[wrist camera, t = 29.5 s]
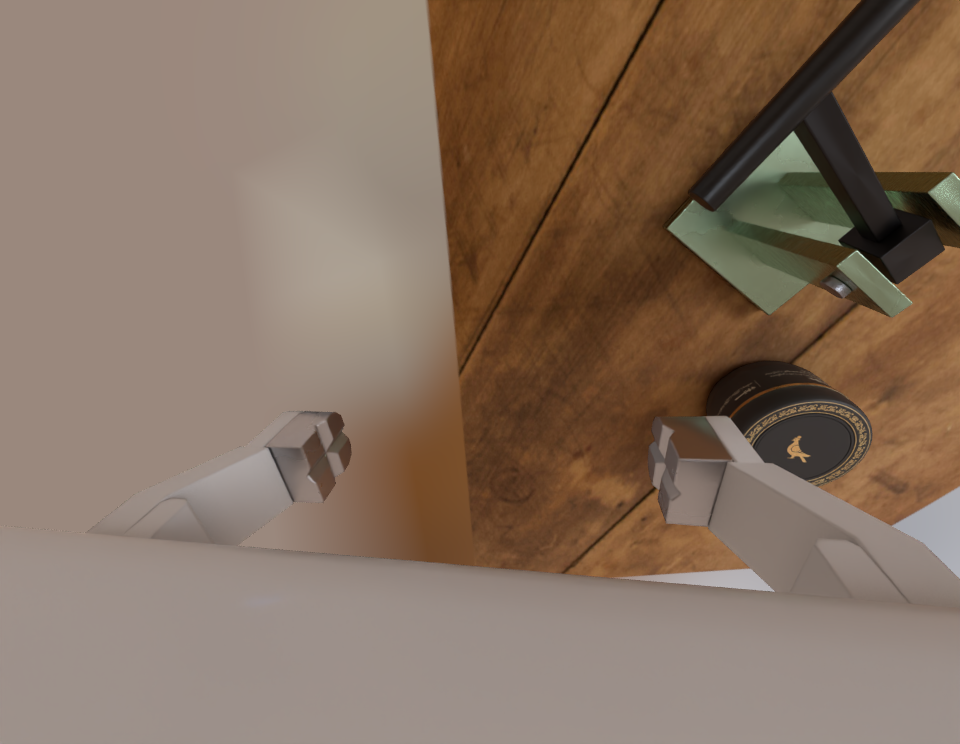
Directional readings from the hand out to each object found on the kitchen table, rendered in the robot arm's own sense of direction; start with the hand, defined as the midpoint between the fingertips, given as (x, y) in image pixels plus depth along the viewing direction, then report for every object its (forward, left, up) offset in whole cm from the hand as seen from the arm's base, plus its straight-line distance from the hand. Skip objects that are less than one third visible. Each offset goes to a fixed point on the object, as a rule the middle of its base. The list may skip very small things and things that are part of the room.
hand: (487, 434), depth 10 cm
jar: (+22, -16, -27) cm, 39 cm away
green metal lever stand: (+19, +1, -27) cm, 33 cm away
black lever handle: (+15, +4, -14) cm, 21 cm away
